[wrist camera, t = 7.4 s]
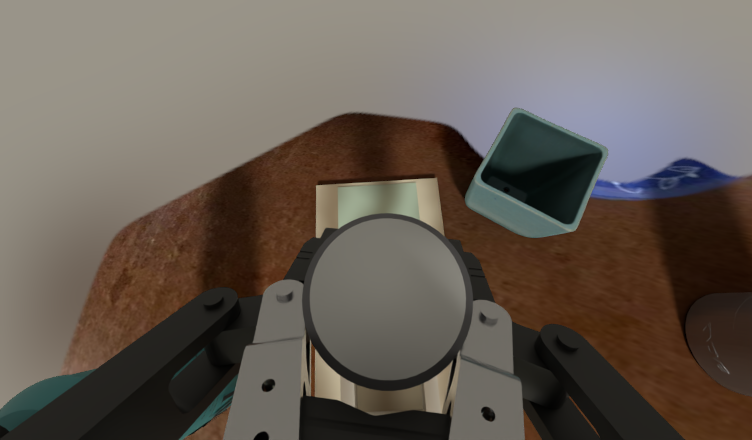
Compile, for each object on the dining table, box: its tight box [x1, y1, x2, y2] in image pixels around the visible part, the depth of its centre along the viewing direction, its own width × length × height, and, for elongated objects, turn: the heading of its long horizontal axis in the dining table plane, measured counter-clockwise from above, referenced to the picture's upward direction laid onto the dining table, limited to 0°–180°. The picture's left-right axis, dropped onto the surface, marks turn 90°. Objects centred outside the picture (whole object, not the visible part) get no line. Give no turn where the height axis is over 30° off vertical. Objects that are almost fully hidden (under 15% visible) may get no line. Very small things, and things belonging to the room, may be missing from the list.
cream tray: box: [315, 178, 451, 416], centre depth 27 cm, size 14×26×3 cm, turn 3°
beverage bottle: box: [0, 348, 239, 440], centre depth 18 cm, size 6×7×20 cm
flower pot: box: [465, 108, 608, 238], centre depth 27 cm, size 9×9×9 cm
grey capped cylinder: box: [302, 213, 473, 391], centre depth 11 cm, size 4×4×11 cm
